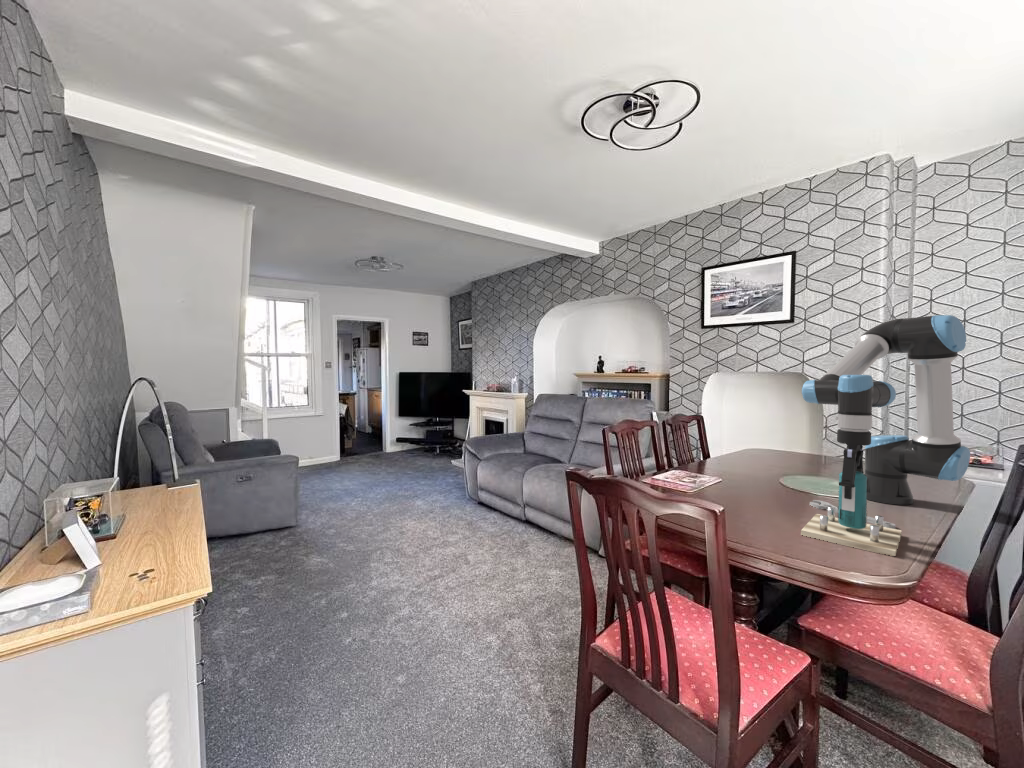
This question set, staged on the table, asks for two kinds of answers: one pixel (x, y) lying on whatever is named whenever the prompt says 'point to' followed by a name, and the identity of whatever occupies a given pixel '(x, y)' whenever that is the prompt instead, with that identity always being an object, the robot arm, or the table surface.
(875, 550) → the birch board
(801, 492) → the table surface
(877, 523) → the steel pegs
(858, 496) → the beverage bottle
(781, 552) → the table surface
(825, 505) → the adjustable wrench
